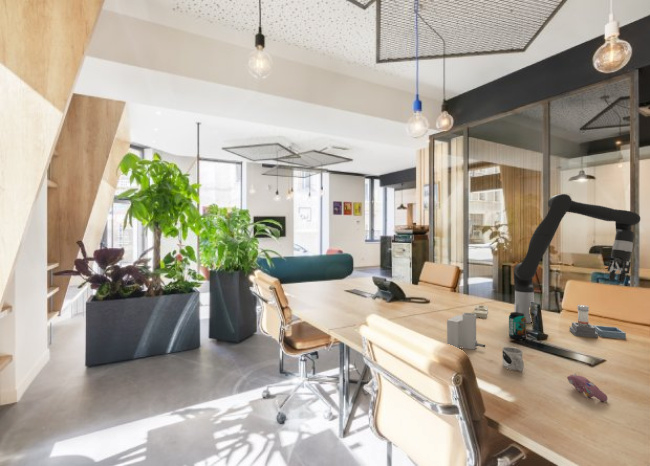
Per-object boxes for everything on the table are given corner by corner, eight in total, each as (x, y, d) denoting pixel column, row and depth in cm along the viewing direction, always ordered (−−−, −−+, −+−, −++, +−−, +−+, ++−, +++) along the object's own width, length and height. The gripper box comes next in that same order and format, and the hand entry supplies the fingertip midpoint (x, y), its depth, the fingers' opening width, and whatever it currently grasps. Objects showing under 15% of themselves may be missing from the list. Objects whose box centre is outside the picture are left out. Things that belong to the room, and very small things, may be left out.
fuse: (579, 330, 158) (579, 306, 158) (576, 328, 162) (576, 304, 162) (590, 331, 156) (590, 307, 156) (587, 329, 160) (587, 305, 160)
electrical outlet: (473, 310, 192) (475, 304, 208) (473, 317, 192) (475, 310, 208) (486, 312, 188) (488, 305, 204) (486, 319, 189) (488, 311, 204)
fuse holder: (575, 335, 157) (575, 326, 157) (569, 330, 165) (569, 321, 165) (598, 337, 153) (597, 328, 153) (591, 332, 161) (591, 323, 161)
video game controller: (570, 391, 107) (562, 373, 106) (582, 385, 107) (573, 367, 107) (598, 408, 97) (589, 388, 96) (610, 400, 97) (601, 381, 97)
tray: (600, 336, 155) (600, 330, 155) (592, 330, 164) (592, 325, 164) (625, 339, 151) (625, 333, 151) (616, 332, 160) (616, 327, 160)
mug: (499, 363, 126) (499, 346, 126) (516, 363, 126) (516, 346, 126) (513, 375, 116) (513, 357, 116) (531, 375, 116) (531, 356, 116)
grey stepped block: (458, 339, 153) (458, 308, 153) (489, 347, 143) (489, 314, 143) (447, 346, 145) (446, 313, 144) (479, 355, 135) (479, 319, 134)
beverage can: (528, 341, 150) (528, 315, 150) (512, 340, 151) (512, 315, 151) (522, 336, 157) (522, 312, 157) (506, 335, 158) (506, 311, 158)
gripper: (605, 248, 173) (600, 278, 173) (621, 248, 159) (615, 280, 159) (622, 251, 171) (616, 281, 171) (639, 251, 157) (633, 283, 157)
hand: (616, 280), depth 165 cm, fingers open, 8 cm apart
